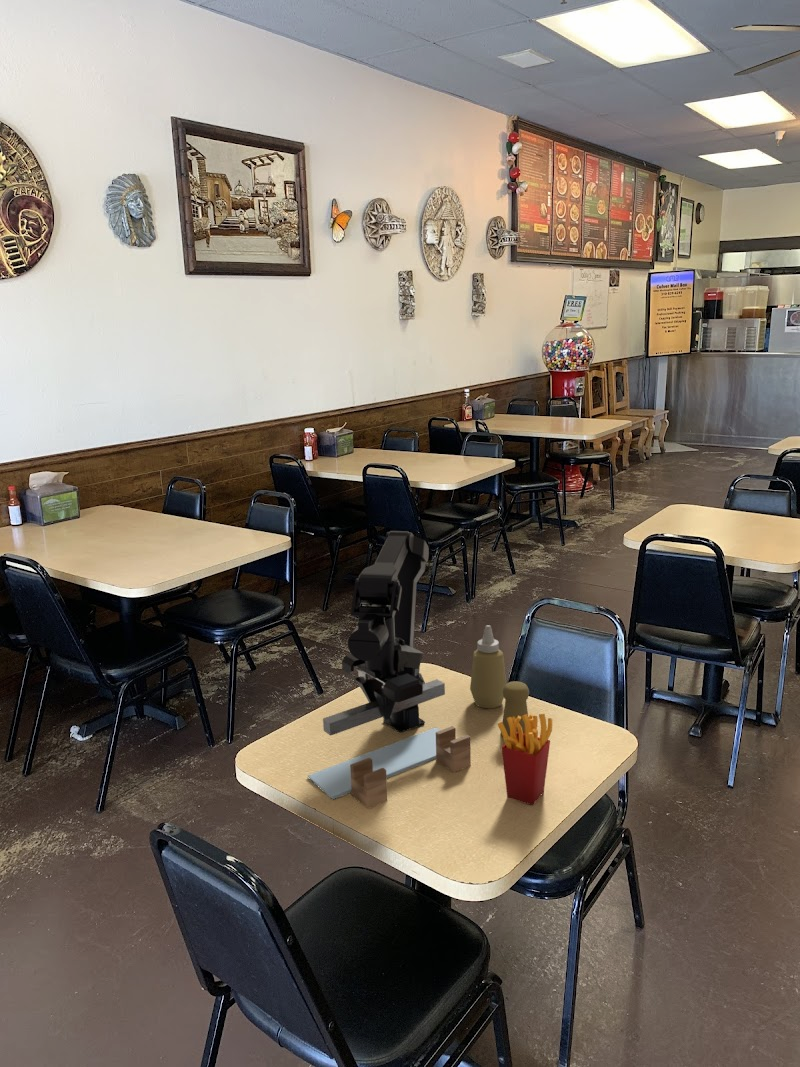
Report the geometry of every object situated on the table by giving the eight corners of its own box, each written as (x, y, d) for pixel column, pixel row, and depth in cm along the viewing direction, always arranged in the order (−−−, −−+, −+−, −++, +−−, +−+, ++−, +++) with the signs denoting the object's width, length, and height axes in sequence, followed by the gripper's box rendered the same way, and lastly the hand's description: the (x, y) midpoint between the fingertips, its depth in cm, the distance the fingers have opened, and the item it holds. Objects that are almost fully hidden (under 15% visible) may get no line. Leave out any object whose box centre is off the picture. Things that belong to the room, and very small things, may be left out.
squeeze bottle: (510, 697, 178) (510, 621, 174) (502, 713, 171) (502, 634, 166) (475, 693, 181) (474, 618, 176) (466, 709, 173) (465, 631, 169)
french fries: (536, 809, 136) (536, 729, 132) (492, 796, 140) (491, 718, 137) (555, 784, 143) (556, 708, 140) (512, 773, 147) (513, 698, 144)
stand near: (351, 795, 142) (350, 764, 141) (370, 787, 144) (369, 757, 143) (368, 808, 138) (366, 777, 136) (387, 800, 140) (386, 770, 138)
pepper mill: (529, 727, 164) (530, 677, 162) (531, 741, 158) (532, 690, 156) (500, 726, 165) (500, 677, 162) (501, 741, 159) (500, 690, 156)
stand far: (436, 760, 152) (435, 732, 151) (452, 754, 155) (452, 726, 153) (454, 772, 148) (453, 743, 147) (470, 765, 150) (470, 736, 149)
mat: (307, 778, 148) (307, 775, 148) (436, 729, 164) (436, 727, 164) (332, 799, 141) (332, 796, 141) (463, 747, 157) (463, 744, 157)
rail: (330, 735, 142) (329, 723, 141) (323, 730, 144) (322, 718, 143) (444, 694, 156) (444, 683, 156) (437, 690, 158) (437, 679, 158)
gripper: (445, 643, 143) (447, 722, 147) (386, 615, 158) (389, 688, 162) (395, 659, 137) (398, 741, 141) (338, 628, 152) (342, 703, 155)
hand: (382, 716), depth 150 cm, fingers closed on rail, 2 cm apart
